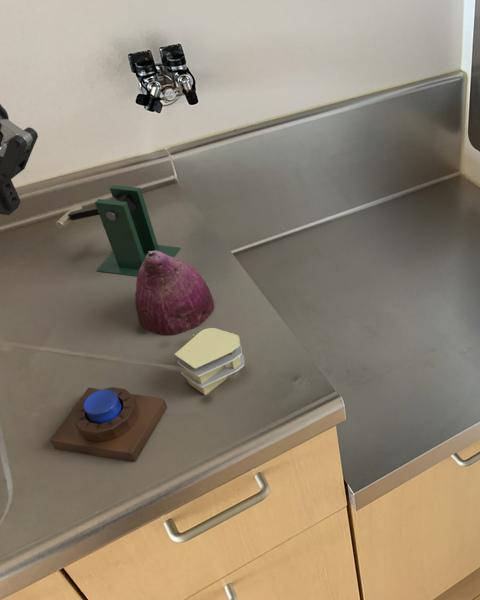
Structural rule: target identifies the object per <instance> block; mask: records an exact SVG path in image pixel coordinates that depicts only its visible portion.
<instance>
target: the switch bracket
mask: <svg viewBox="0 0 480 600" xmlns="http://www.w3.org/2000/svg"><path fill="white" fill-rule="evenodd" d="M109 191H110V193H111V196H112V197H113V196H118V195H122V194H127V193H128V194H129V195H130V197H131V198H132V200H133V201H134V203H135V204H136V206H137V207H136V208H135V210H134V211H133V212H132V213H131V214H130V211H129V208H128V204H127V202H122V201H112V200H110V199H102V198H98V199H96V200H95V202H94V204H95V206H96V207H97V210H98V212H99V215H98V216H99V217H100V220H101V223H102V226H103V229H104V232H105V234H106V236H107V239H108V242H109V245H110V247H111V250H112V252H111V254H110V255H109V256H108V257H107V258H106V259H105V260H104V261H103V263H102V264H101V265H100V266H99V267H98V268H97V270H96V272H97V273H104V274H112V275H118V276H119V275H120V276H129V277H136V278H137V276H138V272H139V269H140V267H141V265H142V263H143V262H144V260H145V257H146V255H147V254H148V251H155V250H156V251H160V252H162V253H164V254H166V255H169V256H171V257H175V258H176V256H177V255H178V253H179V252H180V250H181V249H182V247H177V246H171V245H161V244H159V243H158V239H157V237H156V234H155V231H154V227H153V224H152V220H151V217H150V214H149V211H148V208H147V205H146V201H145V198H144V194H143V192H142V188H141V187H138V186H137V187H136V186H129V185H120V184H119V185H118V184H112V185H111V186H110V187H109ZM112 197H111V198H112Z"/></svg>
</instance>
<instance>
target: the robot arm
mask: <svg viewBox="0 0 480 600" xmlns="http://www.w3.org/2000/svg"><path fill="white" fill-rule="evenodd" d="M9 119H10V118H9V114H8V111H7V110H6V108H4V106H3V105H2V104H1V103H0V215H4V216H10V215H11V214H13V212H15V211H16V210H17V209H18V208H19V206H20V205H21V199H20V196H19V194H18V192H17V189H16V187H15V185H14V182H13V181H12V180H13V178H14V177H16V176H17V175H19V174H21V173H22V172H23V171H24V170H25V169H26V167H27V164H28V162H29V159H30V157H31V155H32V152H33V150H34V147H35V145H36V143H37V140H38V138H39V134H38V132H37V130H35V129H34V128H32V127H29V126H27V127H26V128H24V129H22V128H20V127H19V126H18V125H17V124H16V123H14V122H12V121H11V120H9Z"/></svg>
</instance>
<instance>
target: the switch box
mask: <svg viewBox="0 0 480 600" xmlns="http://www.w3.org/2000/svg"><path fill="white" fill-rule="evenodd" d="M100 390H111V391H114V392H115V393H116V394H117V396H118V399H119V401H120V403H121V411H120V413H119V415H118V416H117V417H115V418H114V419H112V420H111V421H109V422H106V423H94V422H92V421H91V420H90V419H89V417H88V415H87V413H86V411H85V409H84V403H85V401H86V399H87V398H88V397H89V396H90V395H91V394H93V393H95V392H97V391H100ZM167 409H168V406H167V403H166V400H165V398H163V397H162V398H161V397H156V396H155V397H154V396H149V395H148V396H147V395H143V394H142V395H141V394H134V393H131V392H129V391H128V390H127V389H126V388H121V387H114V386H111V387H107V388H102V389H101V388H96V387H87V389H86V390H85V392H83V394H82V395H81V397H80V398H79V400H78V401H77V403H76V404H75V405H74V407H72V409H71V410H70V412H69V413H68V415H67V416H66V418H65V419H64V420H63V422H62V423H61V424H60V426H59V427H58V428H57V430H56V431H55V432H54V434H53V435H52V437H51V438H50V442H51V444H52V446H53V448H54V449H56V450H61V451H67V452H73V453H79V454H85V455H90V456H97V457H104V458H109V459H115V460H122V461H127V462H134V463H136V462H137V461H138V459H139V457H140V455H141V453H142V452H143V450H144V448H145V446H146V445H147V443H148V441H149V439H150V438H151V436H152V435H153V433H154V431H155V430H156V428H157V427H158V424H159V423H160V421H161V419H162V418H163V416H164V414H165V412H166V411H167Z"/></svg>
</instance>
